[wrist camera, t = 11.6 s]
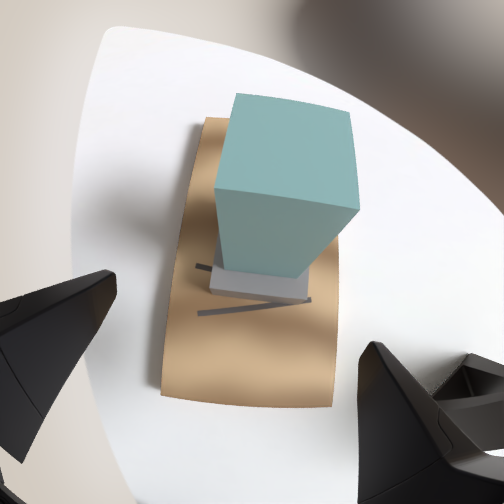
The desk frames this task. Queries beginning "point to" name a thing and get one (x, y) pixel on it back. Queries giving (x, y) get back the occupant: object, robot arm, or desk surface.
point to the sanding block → (280, 196)
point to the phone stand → (476, 401)
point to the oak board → (243, 317)
